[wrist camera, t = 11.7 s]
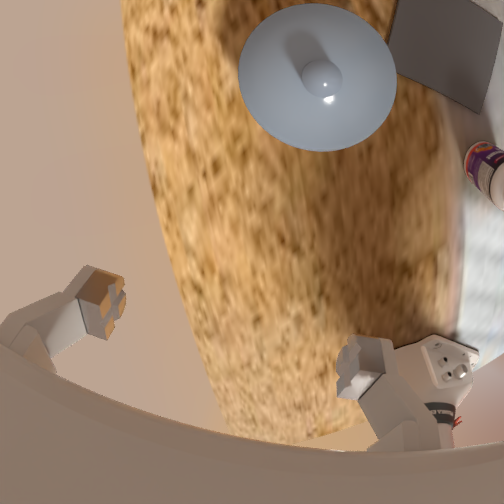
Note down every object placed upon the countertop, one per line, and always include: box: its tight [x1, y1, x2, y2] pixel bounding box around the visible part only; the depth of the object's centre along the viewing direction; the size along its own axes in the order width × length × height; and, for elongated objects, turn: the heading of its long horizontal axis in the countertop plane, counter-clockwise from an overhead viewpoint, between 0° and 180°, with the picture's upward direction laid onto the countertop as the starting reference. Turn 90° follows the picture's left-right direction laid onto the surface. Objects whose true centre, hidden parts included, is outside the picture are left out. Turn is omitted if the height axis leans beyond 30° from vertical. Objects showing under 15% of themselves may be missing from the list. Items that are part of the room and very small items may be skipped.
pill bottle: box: [464, 141, 504, 211], centre depth 23 cm, size 5×5×10 cm
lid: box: [238, 3, 397, 152], centre depth 20 cm, size 13×13×4 cm
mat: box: [387, 0, 503, 114], centre depth 20 cm, size 12×12×1 cm
